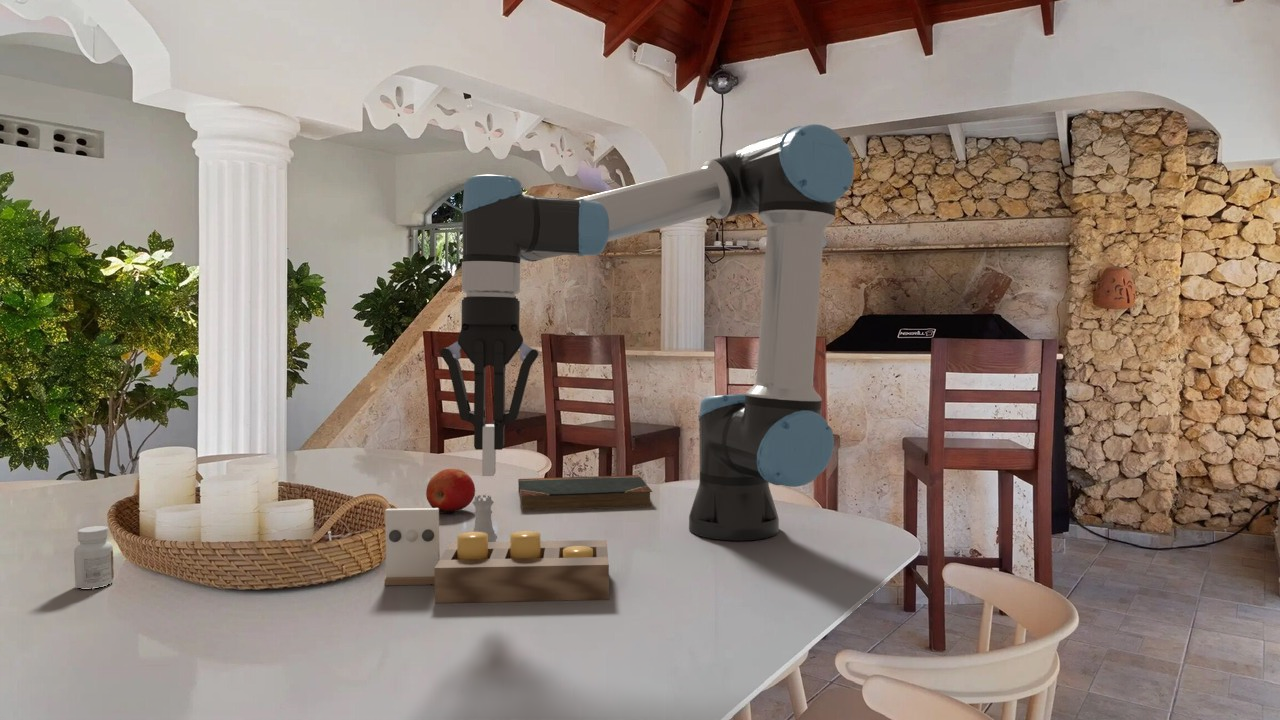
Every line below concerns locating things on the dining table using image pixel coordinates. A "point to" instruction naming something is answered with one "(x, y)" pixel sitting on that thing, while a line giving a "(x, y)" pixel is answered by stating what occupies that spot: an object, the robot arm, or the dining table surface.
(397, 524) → the card
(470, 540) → the button
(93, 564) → the pill bottle
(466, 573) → the board
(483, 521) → the rook chess piece
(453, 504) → the apple
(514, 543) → the button middle
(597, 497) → the book
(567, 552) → the button
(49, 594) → the dining table surface
